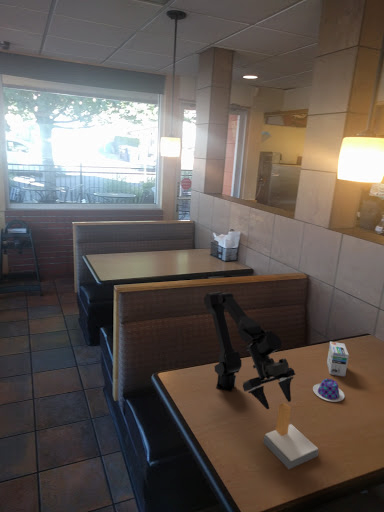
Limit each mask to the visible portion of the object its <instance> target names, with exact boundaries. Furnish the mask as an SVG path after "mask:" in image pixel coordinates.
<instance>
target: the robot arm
mask: <svg viewBox="0 0 384 512" xmlns="http://www.w3.org/2000/svg"><path fill="white" fill-rule="evenodd" d="M203 302H204V305H205V308H206V310H207V312H209V313H210V315H211V316H212V319H213V324H214V328H215V329H214V330H215V333H216V337H217V341H218V345H219V349H220V350H219V351H220V352H219V356H218V363H217V364H215V365H214V372H215V373H216V374H217V384H216V386H215V388H216V389H220V390H224V391H228V392H233V389H234V388H235V386H236V380H237V375H236V374H238V373H239V372H240V370H241V368H242V359H241V355H240V352H239V351H236V350H235V349H234V347H233V344H232V340H231V336H230V331H229V328H228V327H229V326H228V323H227V319H226V315H225V314H226V313H225V310H226V312H227V313H228V315H229V316H230V318H231V319H232V321H234V323H235V324H236V326H237V333H238V335H239V337H240V339H241V340H242V342H243V343H246V346H245V352H248V351H249V353H250V357H251V358H252V359H251V360H252V362H253V363H254V364H253V365H252V367H253V369H255V370H256V372H257V375H258V376H256V377H253V378H250V379H248V380H246V381H243V382H242V388H243V392H247V393H248V394H251V395H252V396H253V397H254V398H255V399H256V400H258V401H259V402H260V404H261V405H263V407H264V408H265V409H266V410H269V409H270V406H269V402H268V400H267V398H266V397H267V396H266V394H265V392H264V391H265V390H264V388H265V386H264V385H265V384H267V383H271V382H274V381H279V382H278V383H277V384H278V385H279V387H280V389H281V391H282V393H283V396H284V398H285V399H286V400H287V402H288V403H290V402H292V398H291V397H292V396H291V383H292V380H293V379H294V376H296V375H297V374H296V372H295V370H294V369H293V368H292V367H290V366H289V362H288V360H287V358H281V359H280V358H279V360H278V361H276V362H275V361H274V358H273V357H271V358H270V355H271V354H273V353H274V352H277V351H278V350H280V349H281V348H282V340H281V338H280V337H279V335H277V334H275V333H273V332H272V330H271V329H270V330H265V329H264V328H262V326H261V325H260V324H259V323H258V322H257V320H255V319H253V318H251V317H249V316H248V315H247V313H246V312H245V311H244V310H243V308H242V307H241V306H240V304H239V303H238V302H237V301H236V298H234V294H233V293H232V292H223V291H216V292H215V291H214V292H208V293H206V294H205V296H204V297H203Z"/></svg>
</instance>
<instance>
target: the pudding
mask: <svg viewBox="0 0 384 512" xmlns="http://www.w3.org/2000/svg"><path fill="white" fill-rule="evenodd" d="M312 390H313V393H314V394H315V395H316V396H317V397H318V398H320V399H322V400H325V401H327V402H335V403H337V402H341V401H343V400H344V399H345V392H343V391H342V389H340V388H339V384H338V382H337V381H336V380H333V379H331V378H325V379H323V380H322V381H321V383H317V384H314V385H313V387H312Z"/></svg>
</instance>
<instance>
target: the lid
mask: <svg viewBox="0 0 384 512" xmlns="http://www.w3.org/2000/svg"><path fill="white" fill-rule="evenodd" d="M291 412H292V407H290V406H289V405H288V404H287V403H286V402H285V403H284V402H283V403H281V404H279V405H278V411H277V418H276V419H277V420H276V425H275V430H271V431H269V432H267V433H265V436H267V437H268V438H269V439H270V440H271V441H272V442H273V443H274V445H275V446H276V447H277V448H278V449H279V450H280V451H281V452H282V453H283V454H284V455H285V456H286V457H287V458H288V459H289V460H290V461H293V460H296V459H298V458H300V457H302V456H305V455H307V454H309V453H311V452H314V451H316V450H319V448H318V447H317V446H316V445H315V444H314V443H313V442H312V441H311V440H309V439H308V438H307V437H306V436H305V435H304V434H303V433H302V432H301V431H299V430H298V429H297V428H296V427H295V426H294V425H293V424H292V423H290V419H291V414H292V413H291Z"/></svg>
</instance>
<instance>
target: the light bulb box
mask: <svg viewBox="0 0 384 512" xmlns="http://www.w3.org/2000/svg"><path fill="white" fill-rule="evenodd" d="M328 345H329V346H328V347H329V348H328V354H327V360H326V365H327V369H328V372H329V375H333V376H338V377H344V378H345V377H346V374H347V368H348V362H349V359H350V358H349V357H350V354H349V352H348V349H347V347H346V343H341V342H336V341H335V342H334V341H329V344H328Z"/></svg>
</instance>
